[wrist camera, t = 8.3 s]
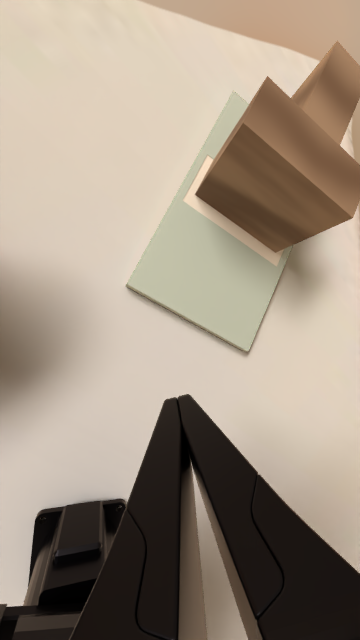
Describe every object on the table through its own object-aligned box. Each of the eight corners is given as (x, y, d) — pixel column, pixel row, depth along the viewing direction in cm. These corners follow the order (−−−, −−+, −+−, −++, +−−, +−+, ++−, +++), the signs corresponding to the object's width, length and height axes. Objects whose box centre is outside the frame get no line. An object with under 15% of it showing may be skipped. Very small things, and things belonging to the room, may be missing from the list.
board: (242, 350, 24) (248, 351, 23) (125, 285, 21) (126, 283, 20) (316, 177, 28) (324, 171, 27) (228, 99, 25) (233, 90, 24)
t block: (275, 252, 24) (353, 217, 17) (194, 194, 22) (243, 122, 14) (311, 170, 26) (395, 105, 19) (240, 108, 24) (305, 4, 16)
